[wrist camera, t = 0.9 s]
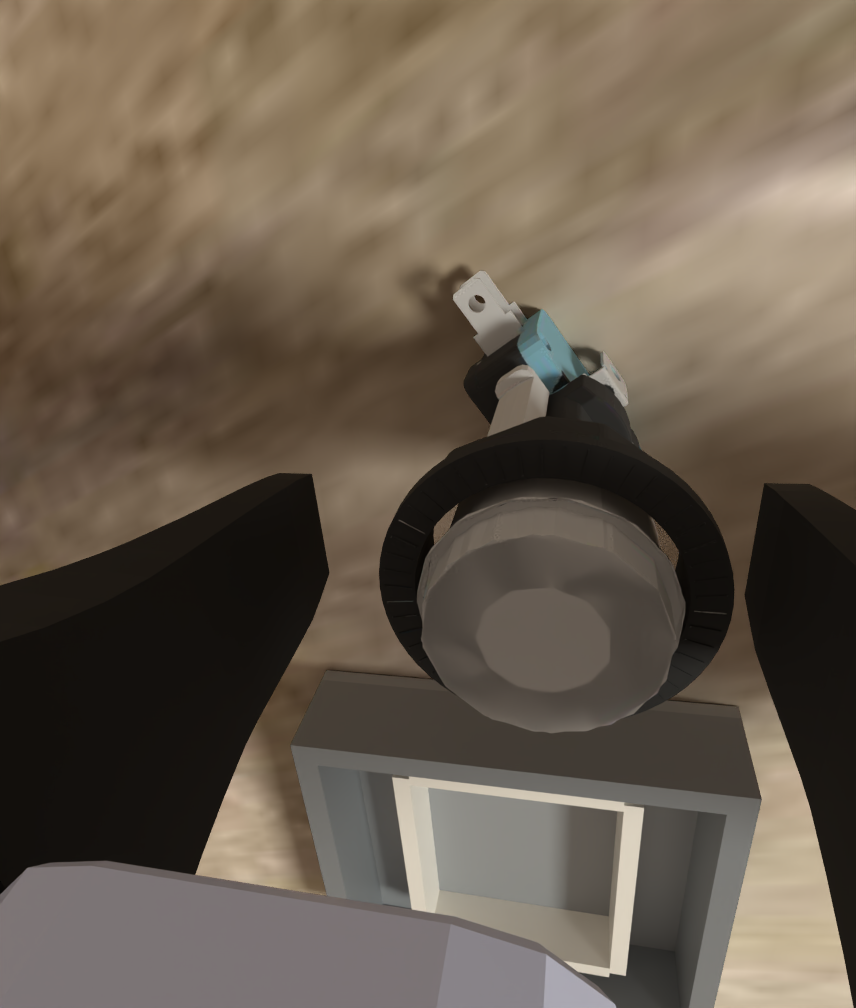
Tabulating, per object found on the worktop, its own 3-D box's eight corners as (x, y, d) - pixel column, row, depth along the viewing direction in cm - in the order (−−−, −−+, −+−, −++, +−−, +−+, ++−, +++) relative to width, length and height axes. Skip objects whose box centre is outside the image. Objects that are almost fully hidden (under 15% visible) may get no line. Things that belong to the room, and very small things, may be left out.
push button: (397, 333, 18) (226, 520, 10) (567, 200, 16) (538, 294, 7) (539, 516, 20) (500, 810, 12) (710, 421, 18) (822, 702, 9)
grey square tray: (738, 706, 22) (761, 799, 19) (692, 953, 29) (703, 1050, 26) (326, 670, 25) (290, 745, 22) (371, 900, 32) (347, 982, 29)
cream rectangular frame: (640, 751, 23) (644, 801, 21) (623, 927, 28) (625, 979, 26) (405, 726, 25) (390, 771, 23) (427, 896, 30) (416, 943, 28)
